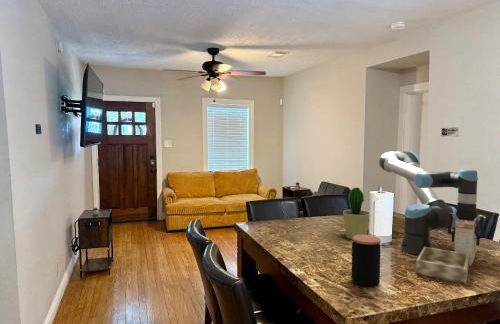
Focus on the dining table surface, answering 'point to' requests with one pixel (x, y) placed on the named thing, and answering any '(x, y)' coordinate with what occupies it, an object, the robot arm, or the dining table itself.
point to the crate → (443, 264)
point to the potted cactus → (356, 215)
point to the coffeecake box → (465, 238)
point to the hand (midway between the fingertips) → (464, 250)
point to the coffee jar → (366, 260)
